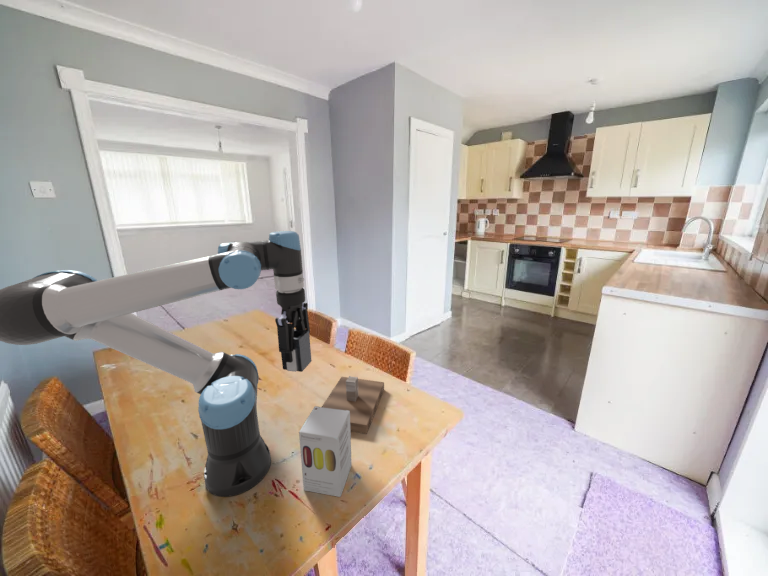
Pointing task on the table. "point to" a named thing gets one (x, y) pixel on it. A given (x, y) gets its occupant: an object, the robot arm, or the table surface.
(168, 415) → the table surface
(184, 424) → the table surface
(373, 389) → the tang block
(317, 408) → the supplement box
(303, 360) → the hollow square tube
